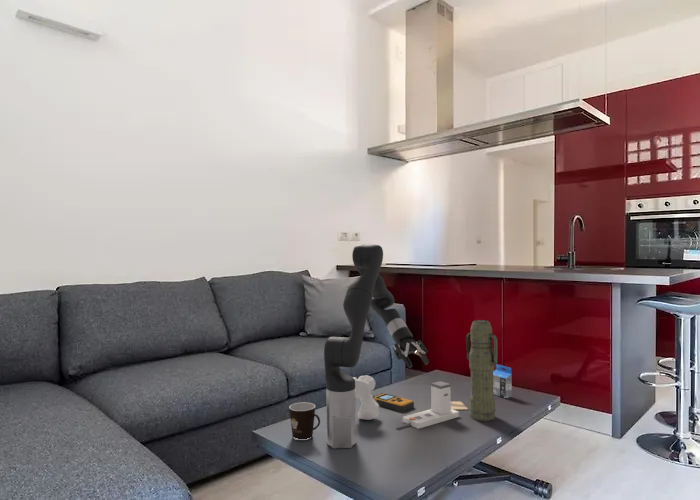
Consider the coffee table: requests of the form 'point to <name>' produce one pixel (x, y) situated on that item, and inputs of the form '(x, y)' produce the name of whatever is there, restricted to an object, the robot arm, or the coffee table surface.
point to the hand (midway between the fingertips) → (419, 365)
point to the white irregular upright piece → (366, 397)
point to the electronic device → (393, 402)
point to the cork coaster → (458, 405)
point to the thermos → (481, 369)
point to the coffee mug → (303, 419)
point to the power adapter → (440, 398)
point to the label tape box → (502, 381)
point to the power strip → (426, 419)
